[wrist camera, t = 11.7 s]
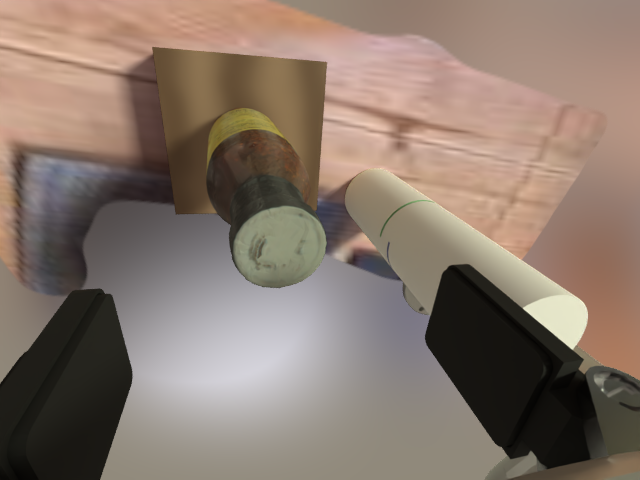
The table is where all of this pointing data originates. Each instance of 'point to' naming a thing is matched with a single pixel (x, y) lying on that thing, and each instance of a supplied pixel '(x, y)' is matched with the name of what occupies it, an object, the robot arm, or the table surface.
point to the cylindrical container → (452, 252)
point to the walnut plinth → (224, 95)
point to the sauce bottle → (263, 200)
